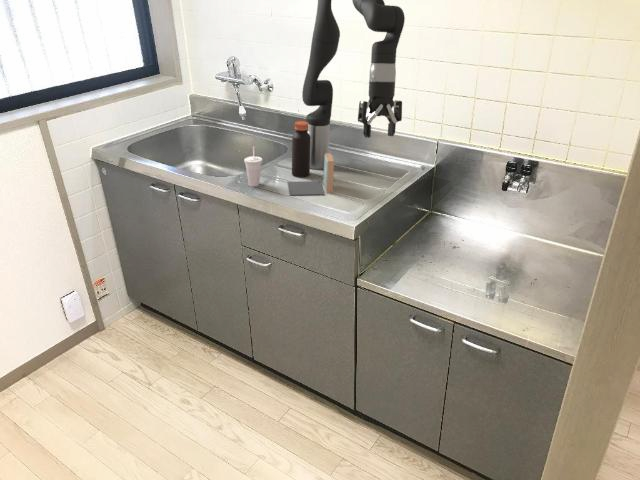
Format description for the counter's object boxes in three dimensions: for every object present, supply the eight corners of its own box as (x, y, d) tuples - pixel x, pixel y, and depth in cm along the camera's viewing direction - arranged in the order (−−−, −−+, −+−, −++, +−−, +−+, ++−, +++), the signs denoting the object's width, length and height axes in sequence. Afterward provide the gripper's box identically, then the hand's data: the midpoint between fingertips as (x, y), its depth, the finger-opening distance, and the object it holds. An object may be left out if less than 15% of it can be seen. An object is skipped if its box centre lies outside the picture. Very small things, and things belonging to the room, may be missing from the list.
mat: (319, 182, 198) (319, 181, 198) (324, 195, 187) (324, 194, 187) (287, 182, 196) (287, 181, 196) (290, 195, 186) (290, 194, 186)
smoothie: (265, 182, 195) (265, 145, 189) (258, 189, 190) (257, 151, 183) (249, 180, 197) (248, 143, 191) (242, 186, 192) (240, 148, 185)
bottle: (302, 179, 200) (304, 126, 191) (288, 174, 203) (288, 123, 194) (312, 173, 205) (314, 122, 196) (298, 169, 208) (299, 119, 199)
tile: (329, 184, 196) (330, 153, 191) (332, 193, 189) (333, 160, 184) (323, 184, 196) (324, 153, 190) (326, 193, 189) (327, 161, 183)
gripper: (394, 79, 161) (390, 134, 166) (354, 79, 154) (352, 136, 159) (409, 80, 155) (405, 137, 160) (369, 80, 148) (366, 139, 153)
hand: (379, 136), depth 159 cm, fingers open, 8 cm apart
